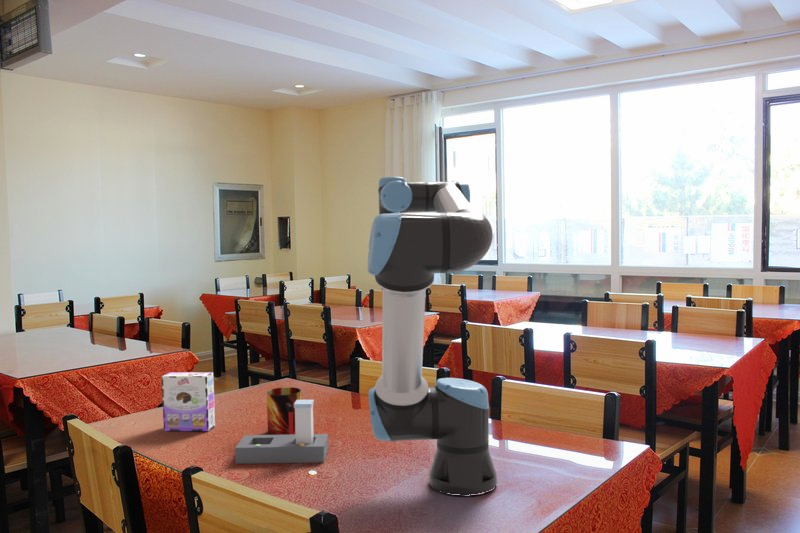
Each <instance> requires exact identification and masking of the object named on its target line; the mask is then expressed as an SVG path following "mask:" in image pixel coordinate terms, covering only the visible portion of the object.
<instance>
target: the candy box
mask: <svg viewBox="0 0 800 533" xmlns="http://www.w3.org/2000/svg"><path fill="white" fill-rule="evenodd" d="M214 379H215V378H214V372H212V371H209V372H208V371H207V372H196V371H195V372H193V371H191V372H189V371H187V372H185V371H183V372H182V371H181V372H178V371H177V372H176V371H175V372H172V371H171V372H168V373H166V374H164V375H162V376H161V395H162V399H161V400H162V416H163V418H162V420H163V430H162V431H164V432H209V431H210V430H212V429H213V428H215V427H216V415H215V414H216V410H215V409H216V408H215V407H216V406H215V385H214V384H215V382H214V381H215V380H214Z"/></svg>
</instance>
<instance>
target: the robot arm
mask: <svg viewBox="0 0 800 533" xmlns="http://www.w3.org/2000/svg"><path fill="white" fill-rule="evenodd" d="M377 189H378V190H377V191H378V192H377V193H378V213H379V214H378V215H376V216H375V218H374V219H373V221H372V223H371V229H370V234H369V242H368V253H367V254H368V255H367V273H369V275H372V276H374V279H375V280H374V281H375V283H376V284H377V285H378V286H379V287H380V288H382V310H381V311H382V314H381V316H382V318H381V321H382V328H381V329H382V336H381V337H382V339H381V340H382V341H381V342H382V343H381V348H382V349H381V350H382V353H381V354H382V355H381V356H382V357H381V359H382V360H381V367H382V368H381V376H379V377H378V378H377V380H376V382H375V385H374V387H372V388H370V389H369V390H368V405H369V406H368V407H369V413H370V422H371V429H372V433H373V436H374V437H375V439H377V440H378V441H381V442H392V443H393V442H401V441H402V442H404V441H406V442H407V441H423V440H424V441H425V440H426V441H427V440H428V441H429V440H430V441H431V440H436V451H435V455H434V458H433V461H432V463H431V467H430V469H429V480H428V481H429V485H431V486H432V487H433V488H434V489H433V488H432V487H431V486H430V487H431V488H432V489H433V490H435V489H436V490H438V491H441V492H444V493H450V494H460V495H469V494H470V495H471V494H478V493H482V492H486V491H489V490H491V489H493V488H494V487H495V486H496V484H497V485H498V476H497V475H498V474H497V472H496V467H495V464H494V462H493V460H492V456H491V453H490V450H489V448H490V446H489V444H490V443H489V442H490V441H489V436H490V433H489V432H490V429H489V422H490V420H489V409H490V404H489V393H488V390H487V388H486V387H485V386H484V385H483V384H481V383H479V382H476V381H473V380H470V379H464V378H458V377H442V378H438V379H437V380H436V382H435V385H433V386H432V385H431V386H429V384H428V381H427V379H426V378H424V376H423V360H424V356H423V355H424V336H425V335H424V334H425V332H424V331H425V313H426V312H425V311H426V310H425V307H426V291H427V289H429V288H430V287H431V286H432V285H433V284H434V280H435V274H449V273H450V274H451V273H453V274H454V273H458V272H462V271H465V270H467V269H469V268H471V267H473V266H474V265H476V264H478V263H479V262H480V261H482V259H483V258H484V257H485V256H486V254H488V251H489V250H490V248H491V246H492V242H493V237H494V235H493V228H492V225H491V223H490V221H489V219H488V218H487V216H486V215H485V214H483V213H482V212H481V211H480V210H477V209H476V208H473V206H472V205H471V204H470V203H471V191H470V185H469V184H468V182H465V181H458V180H457V181H456V180H452V181H407V179H406V178H405V177H402V176H386V177H382V178H379V180H378V188H377ZM496 487H497V486H496ZM436 490H435V491H436ZM438 491H437V492H438ZM441 492H440V493H441ZM444 493H443V494H444Z"/></svg>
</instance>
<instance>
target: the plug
mask: <svg viewBox="0 0 800 533" xmlns="http://www.w3.org/2000/svg"><path fill="white" fill-rule="evenodd" d="M314 403H315V401H314V399H301V400H296V402H295V403H294V408H295V437H296V444H314V436H313V434H314Z"/></svg>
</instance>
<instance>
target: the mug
mask: <svg viewBox="0 0 800 533" xmlns="http://www.w3.org/2000/svg"><path fill="white" fill-rule="evenodd" d="M296 400H302V389H300V388H298V387H293V386H291V387H290V386H287V387H286V386H283V387H275V388H272V389H269V390H267V391H266V414H267V417H266V419H267V435H294V434H295V408H294V403H295V402H296Z"/></svg>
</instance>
